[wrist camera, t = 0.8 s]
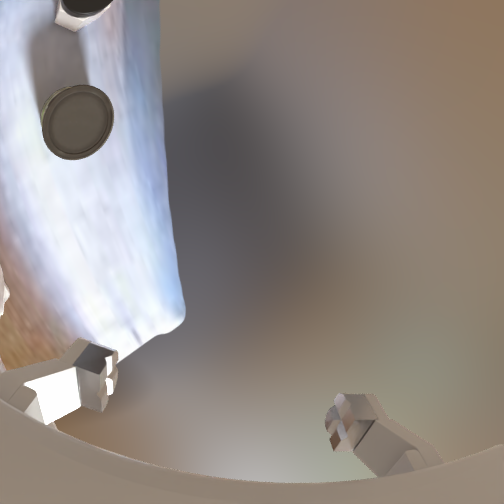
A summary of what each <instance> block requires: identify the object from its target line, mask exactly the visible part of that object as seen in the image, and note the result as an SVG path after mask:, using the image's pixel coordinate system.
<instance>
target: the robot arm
mask: <svg viewBox="0 0 504 504" xmlns="http://www.w3.org/2000/svg"><path fill="white" fill-rule="evenodd" d="M9 294H10V291H9V288H8V286H7V285H6V283H5V282H4V278H3V272H2V268H1V265H0V316H1V315H2V314H3V312H4V303H5V301H6V300H7V299H8V297H9ZM117 361H118V352H117V350H114V349H111V348H108V347H106V346H103V345H100V344H97V343H95V342H91V341H89V340H86V339H84V338H81V337H80V338H78V339H77V340H76V341H75V342H74V343H73V344H72V345H71V346H70V348H69V349H68V350H67V351H66V352H65V353H64V354H63V356H62V357H61V358H60V359H59V360H58V359H56V358H55V359H51V360H48V361H44V362H40V363H36V364H32V365H29V366H25V367H21V368H17V369H13V370H9V371H7V370H6V368H5V366H4V365H3V362H2V360H1V357H0V504H504V445H503V444H499V445H496V446H493V447H491V448H489V449H486V450H484V451H481V452H478V453H475V454H473V455H470V456H467V457H464V458H461V459H457V460H454V461H451V462H447V463H444V462H443V460H442V458H441V457H440V456H439V453H438V452H437V450H436V449H435V447H434V446H433V445H432V444H430V443H429V442H427V441H425V440H424V439H422V438H421V437H419V436H417V435H416V434H414V433H413V432H411V431H410V430H408V429H406V428H405V427H403V426H402V425H400V424H399V423H397V422H396V421H394V420H392V419H389V418H388V416H387V415H386V413H385V411H384V409H383V408H382V406H381V404H380V402H379V401H378V399H377V397H376V396H375V395H374V394H346V393H339V394H338V395H337V396H336V398H335V400H334V402H335V405H334V406H333V407H332V408H330V409H329V411H328V413H327V415H326V419H325V427H326V430H327V432H329V433H330V434H331V435H332V436H331V438H330V442H331V445H332V448H333V451H353V453H354V454H355V455H356V456H357V457H358V458H359V459H360V460H361V461H362V462H363V463H364V464H365V465H366V466H367V467H368V468H369V469H370V470H371V471H372V472H373V473H374V474H375V475H377V476H378V477H377V478H370V479H361V480H352V481H340V482H325V483H273V482H256V481H245V480H244V481H243V480H234V479H226V478H219V477H212V476H206V475H200V474H194V473H189V472H184V471H179V470H174V469H170V468H165V467H161V466H157V465H153V464H149V463H146V462H142V461H139V460H136V459H132V458H129V457H126V456H122V455H119V454H116V453H113V452H111V451H108V450H105V449H102V448H99V447H97V446H94V445H92V444H89V443H86V442H84V441H81V440H79V439H77V438H74V437H72V436H70V435H67V434H65V433H63V432H61V431H59V430H57V428H56V425H55V424H54V422H53V421H54V420H56V419H58V418H60V417H62V416H64V415H65V414H67V413H69V412H71V411H73V410H75V409H76V408H78V407H80V405H81V406H84V407H87V408H89V409H92V410H95V411H98V412H101V413H102V412H103V410H104V409H105V406H106V405H107V403H108V395H109V394H111V393H113V391H114V389H115V386H116V382H117V377H118V369H117V367H116V366H115V365H116V363H117Z"/></svg>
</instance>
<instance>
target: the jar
mask: <svg viewBox="0 0 504 504" xmlns="http://www.w3.org/2000/svg"><path fill="white" fill-rule="evenodd" d="M112 1H113V0H59V1H58V5H57V11H56V17H55V23H56V24H58V25H60V26H62V27H65V28H67V29H69V30H71V31H73V32H76V31H77V30H79V29H81V28H83V27H84V26H86V25H88V24H90V23H91V22H93V21H95V20H97V19H98V18H99V17H100V16H101V15H102V14H103V13H104V12H105V11H106V10H107V9H108V8H109V7H110V5H111V2H112Z"/></svg>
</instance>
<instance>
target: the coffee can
mask: <svg viewBox="0 0 504 504" xmlns="http://www.w3.org/2000/svg"><path fill="white" fill-rule="evenodd" d="M113 123H114V110H113V106H112V104H111V101H110V99H109V98H108V96H107V95H106V94H105V93H104V92H103V91H101V90H100V89H98V88H96V87H93V86H89V85H77V86H73V87H66V88H62V89H60V90H58V91H56V92H55V93H54V94H52V95H51V96H50V97H49V99H48V100H47V101H46V103H45V105H44V107H43V109H42V113H41V126H42V133H43V138H44V141H45V143H46V145H47V147H48V148H49V150H50V151H51V152H52V153H54V154H55V155H56V156H58V157H60V158H62V159H66V160H79V159H83V158H86V157H88V156H90V155H92V154H94V153H95V152H96V151H98V150H99V149H100V148H101V147H102V146H103V145H104V143H105V142H106V141H107V139H108V137H109V135H110V133H111V131H112V128H113Z"/></svg>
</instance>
